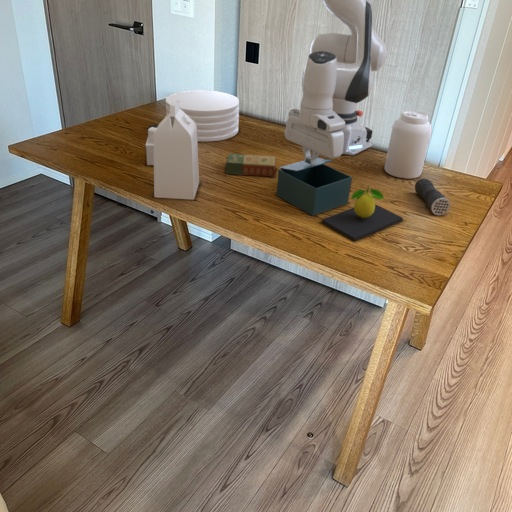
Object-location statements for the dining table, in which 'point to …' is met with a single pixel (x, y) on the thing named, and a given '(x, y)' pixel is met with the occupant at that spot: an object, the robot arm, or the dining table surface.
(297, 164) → the flap
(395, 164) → the white lidded jar
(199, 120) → the plate stack
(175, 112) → the milk
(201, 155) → the dining table surface
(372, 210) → the lemon
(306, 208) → the box
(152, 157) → the medicine bottle
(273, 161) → the carton
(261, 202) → the dining table surface
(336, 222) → the mat
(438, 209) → the flashlight
